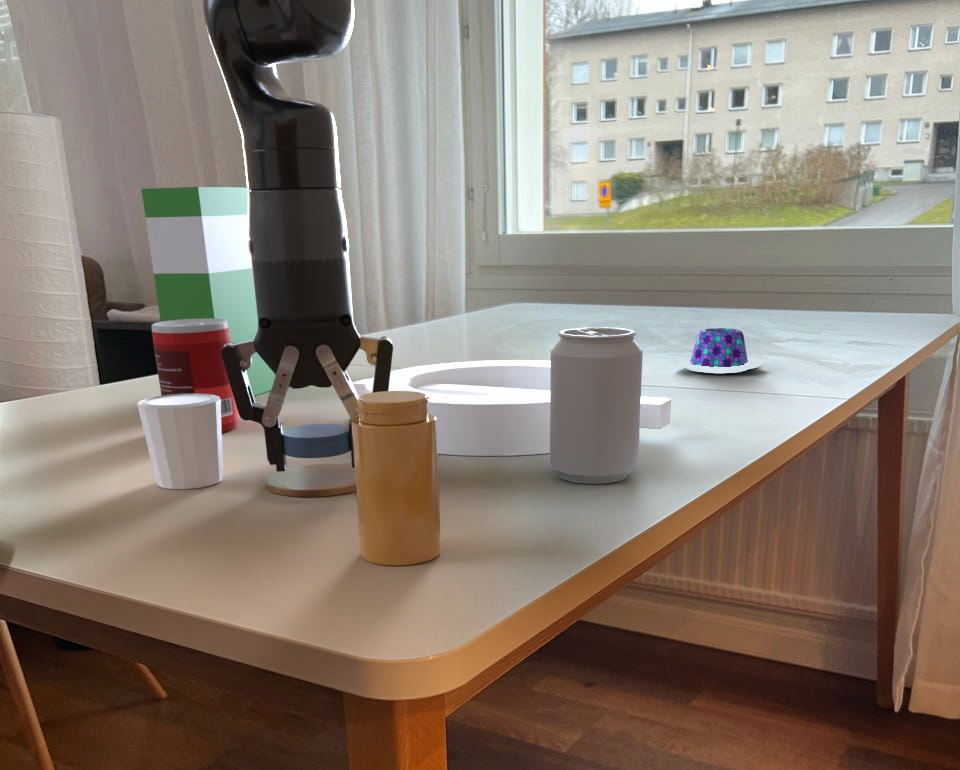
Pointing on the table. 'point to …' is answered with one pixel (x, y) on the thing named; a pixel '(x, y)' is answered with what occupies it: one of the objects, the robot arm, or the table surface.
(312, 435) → the lid
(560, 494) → the table surface
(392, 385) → the white circle with bar
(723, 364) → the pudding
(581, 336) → the can
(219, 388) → the canned food
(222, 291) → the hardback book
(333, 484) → the coaster
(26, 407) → the table surface
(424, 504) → the jar
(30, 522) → the table surface
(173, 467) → the white faceted cup
